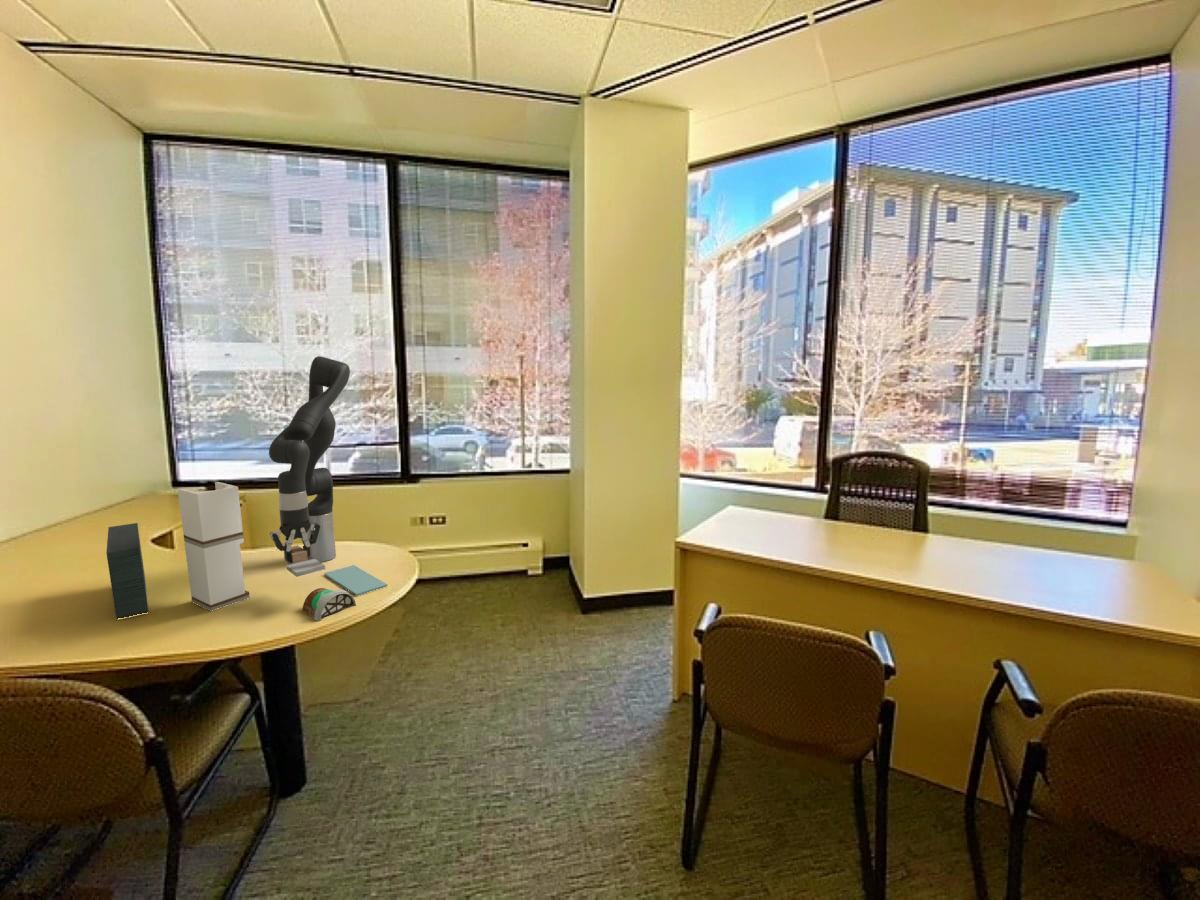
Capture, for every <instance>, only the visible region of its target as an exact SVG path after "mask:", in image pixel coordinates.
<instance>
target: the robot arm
mask: <svg viewBox="0 0 1200 900" xmlns="http://www.w3.org/2000/svg"><path fill="white" fill-rule="evenodd" d="M350 375H351V369H350V366H349V364H348V363H345V362H342V361H340V360H335V359H331V358H329V357H325V356H322V355H321V356H319V355H318V356H315V357H314V359H313V360H312V361H311V364H310V369H309V379H308V401H307V402H305V403H304V404H302V405H301V406H300V407H299V408H298V409H297V411H295V413H294V415H293V417H292V419H291V421H290V423H289V425H288V426H286V427H285V428H284V429H283V430H282V431H281V432H280V433H279V434H278V435H277V436H276V437H275V438H274V439H273V441H272V442H271V443H270V445H269V449H268V456H269V458H270V459H271V461H272V462H274V463H277V464H286V465H287V464H288V465H290V469H289V470H286V471H282V472H280V473H279V474H278V475H277V483H278V507H279V518H280V520H279V521H280V526H279V529H278V530H276V531H270V532H269V535H270V537H271V539H272V542H273V543H274V545H275V547H276V549H278V551H280V552H284V551H285V559H286V561H288V562H289V563H292V551H291V547H292V546H293V542H294V540H297V539H300V540H301V542H302V544H303V546H302V548H303V549H304V550H305V551H307V557H308V560H311V559H316V560H318V561H319V562H321V563H323V562H328V561H331V560H333V559H335V558H336V557H337V551H336V539H335V524H334V513H333V512H334V511H333V506H334V484H333V483H334V482H333V477H332V473H331V471H330V470H329V469H328V468H327V467H316V465H317V463H318V462H319V460H320V459H321V457H322V456H323V455H324V454H325V452H326V451H327V450H328V449H329V447H330V446H331V445H332V443H333V441H334V439H335V434H336V433H335V431H336V425H337V424H336V418H335V417H334V413H333V412H332V410H331V408H330V407H331V406H332V404H334V402H335V401H336V400H337V398H338V397H339V396H340V394H341V393H342V392H343V390H345V389H344V388H345V387H346V386H347V384H348V382H349V378H350ZM324 387H325V388H327V389H326V390H325V391H324ZM312 496H315V498H314V499H313V500H312V501H310V502H309V500H308V497H312ZM281 534H282V535H283V536H284V544H282V541H281V540H280V538H281ZM285 559H284V560H285ZM286 561H285V562H286ZM289 563H288V564H289Z"/></svg>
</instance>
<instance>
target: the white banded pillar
mask: <svg viewBox="0 0 1200 900" xmlns="http://www.w3.org/2000/svg"><path fill="white" fill-rule="evenodd" d="M214 485H215V487H214V488H215V489H214V490H207V491H193V490H188V489H185V488H181V487H180V488H177V495H178V502H179V509H180V517H181V518H180V519H181V526H182V533H183V541H184V542H183V543H184V549H185V557H186V564H187V565H186V566H187V575H188V580H189V581H188V582H189V587H190V588H189V589H190V596H191V603H192V602H194V603H196V604H198V605H200V606H202V607H204V608H203V609H205V608H206V609H205V610H207V609H209V610H211V611H212V610H215V609H217V608H220V607H223V606H226V605H229V604H232V603H235V602H238V601H240V602H242V601H241V600H243V601H245V600H244V599H246V600H248V599H247V598H249V599H250V598H251V595H250V591H248V590H246V588H245V581H244V580H245V579H244V569H243V561H242V560H243V559H242V552H241V544H243V543H245V542H244V541H245V539H244V531H243V519H242V513H241V512H242V511H241V501H240V492H239V486H236V485H233V484H229V483H228V484H227V483H225V482H220V481H217V482H214ZM194 603H193V604H194ZM238 603H239V602H238ZM196 604H195V605H196ZM235 604H236V603H235ZM198 605H197V606H198ZM232 605H233V604H232ZM200 606H199V607H200ZM229 606H230V605H229ZM202 607H201V608H202ZM226 607H227V606H226ZM209 610H208V611H209ZM211 611H210V612H211ZM215 611H216V610H215ZM212 612H213V611H212Z"/></svg>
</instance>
